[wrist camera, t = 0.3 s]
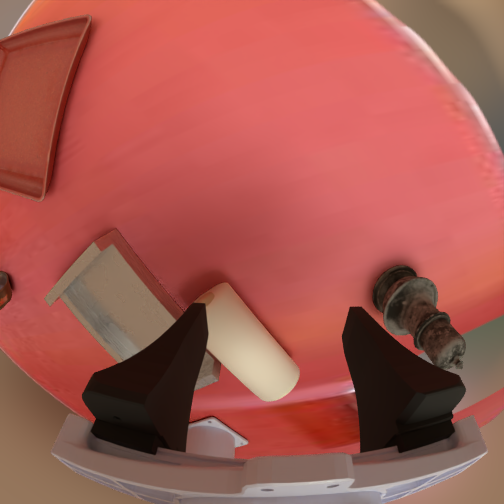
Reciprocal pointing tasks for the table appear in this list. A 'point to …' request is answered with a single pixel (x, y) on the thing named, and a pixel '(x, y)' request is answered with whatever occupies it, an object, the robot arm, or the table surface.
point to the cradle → (121, 302)
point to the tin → (4, 290)
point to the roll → (246, 345)
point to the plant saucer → (36, 100)
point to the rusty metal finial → (418, 315)
